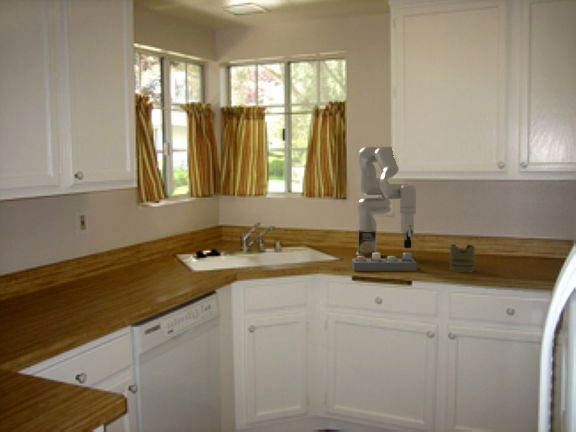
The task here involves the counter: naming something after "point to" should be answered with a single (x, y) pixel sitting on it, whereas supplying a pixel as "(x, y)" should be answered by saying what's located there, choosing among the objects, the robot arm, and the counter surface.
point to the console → (384, 265)
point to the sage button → (391, 258)
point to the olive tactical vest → (462, 258)
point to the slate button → (406, 256)
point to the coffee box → (366, 243)
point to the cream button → (376, 256)
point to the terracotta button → (360, 258)
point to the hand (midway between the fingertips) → (407, 247)
